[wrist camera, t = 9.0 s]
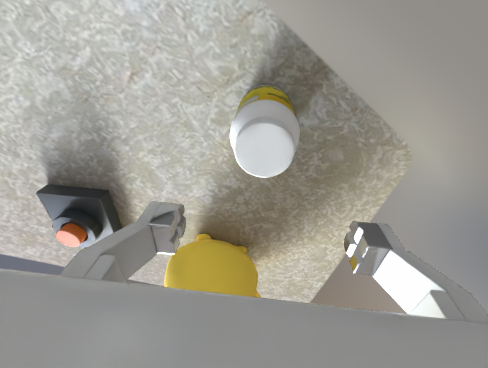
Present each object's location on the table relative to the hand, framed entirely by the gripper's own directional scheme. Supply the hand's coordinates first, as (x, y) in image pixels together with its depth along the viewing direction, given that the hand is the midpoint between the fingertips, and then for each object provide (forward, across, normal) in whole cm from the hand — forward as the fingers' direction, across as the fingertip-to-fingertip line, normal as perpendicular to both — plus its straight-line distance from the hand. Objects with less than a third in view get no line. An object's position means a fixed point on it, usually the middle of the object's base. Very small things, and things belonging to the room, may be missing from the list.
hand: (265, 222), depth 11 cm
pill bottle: (+19, 0, 0) cm, 19 cm away
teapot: (+19, +4, +28) cm, 34 cm away
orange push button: (+15, +28, +20) cm, 37 cm away
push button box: (+19, +28, +20) cm, 39 cm away
